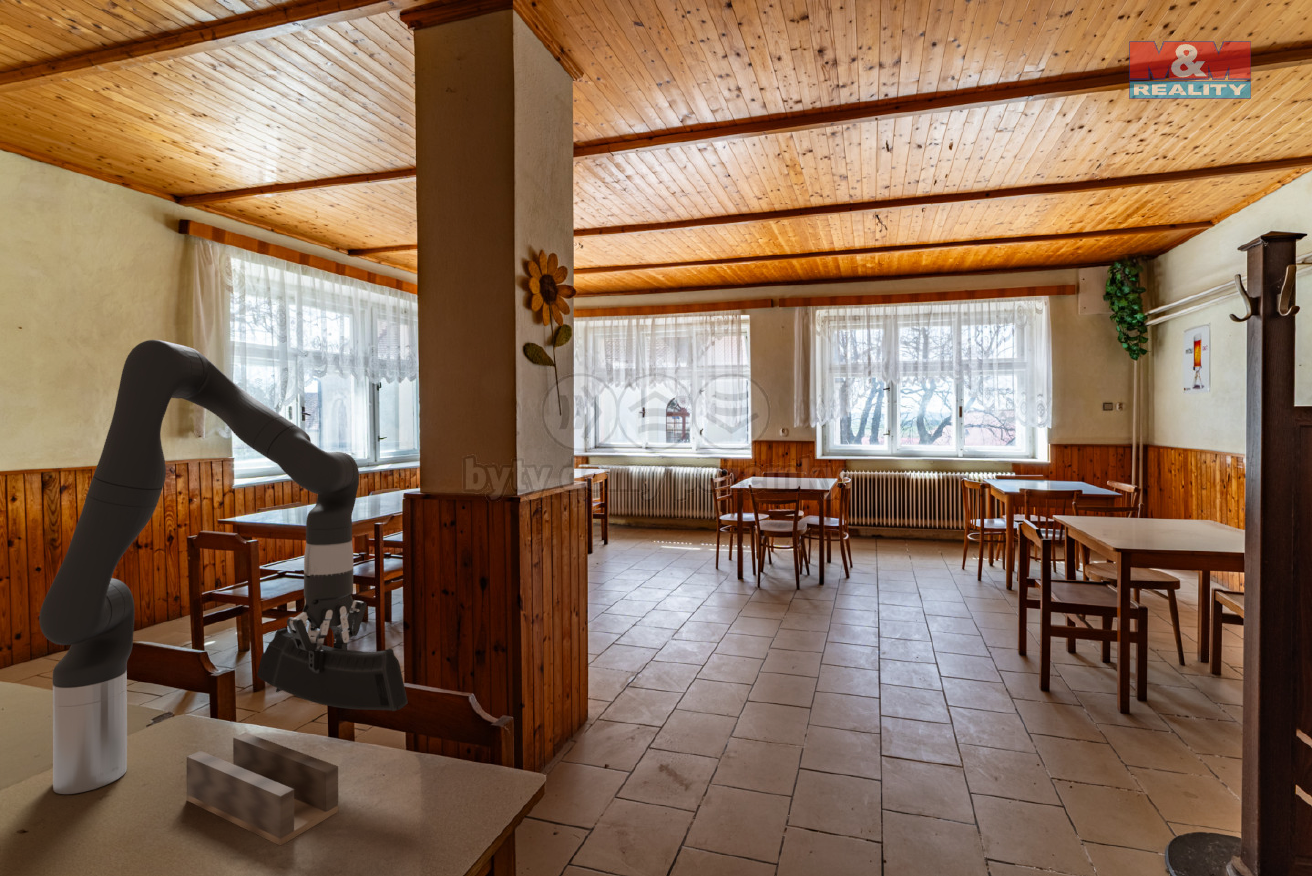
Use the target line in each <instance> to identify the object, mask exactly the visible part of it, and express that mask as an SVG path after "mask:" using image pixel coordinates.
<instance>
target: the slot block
mask: <svg viewBox="0 0 1312 876" xmlns="http://www.w3.org/2000/svg"><path fill="white" fill-rule="evenodd" d="M232 742H233V743H232V744H233V745H232V747H233V749H232V751H233V755H232V758H233V759H232V763H231V762H229V761H227V760H224V759H221V758H219V757H217V756H214V755H212V754H209V753H207V752H204V751H202V750H198V751H197V752H195V753H194V752H193V753H192V754H190V755H187V756H186V801H187V802H189V803H192V804H194V805H195V806H197V807H199V808H200V809H203V810H205V811H208V812H209V813H211V814H214V815H216V816H218V817H220V818H222V819H224V820H226V821H228V822H230V823H232V824H234V825H236V826H238V827H241V828H242V829H245V830H247V831H249V832H250V833H251V832H252V833H253V834H255V835H257V836H259V837H261V838H264V839H265V840H268V841H270V842H272V843H274V844H276V845H278V846H279V847H280V846H283V845H285V844H286V843H288V842H289V841H292V840H294V838H296V837H298V836H301V834H303V833H304V832H306V831H308V830H309V829H312V828H313V827H315V826H316V825H318V824H320V823H321V822H323V821H325V820H327V819H329V818H330V817H331V816H333V815H335V814H336V813H338V812H339V766H338V765H336V764H333V763H330V762H328V761H326V760H322V759H320V758H317V757H315V756H311V755H309V754H305V753H303V752H300V751H297V750H295V749H292V748H290V747H286V746H284V745H282V744H279V743H275V742H272V741H270V740H267V739H265V738H263V737H262V738H261V737H259V736H257V735H254V734H250V733H248V732H243V733H240V734H238V735H236V736H233V738H232Z"/></svg>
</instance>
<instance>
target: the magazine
mask: <svg viewBox="0 0 1312 876" xmlns="http://www.w3.org/2000/svg"><path fill="white" fill-rule="evenodd" d="M322 650H323V671H322V672H320V673H315V672H312V671H311V669H309V651H305V650H303V649H298V648H297V647H296V644H295V642H294V639H293V637H292V635H291V632H290V631H289V630H288V628H286V627H284V628H279V629H277V630H276V631H275V634H274V637H273V639H272V640H271V641H270V642H269V643H268V645H267V646H266V649H265V650H264V652H263V653H262V654H261V658H260V661H259V666H258V670H257V677H258V679H259V680H262V681H263V682H265V683H267V684H268V685H270V686H272V687H274V688H276V690H275V692H276V693H279V692H281V691H283V692H285V693H288V694H290V695H293V696H294V697H296V698H300V699H302V700H305V701H309V702H311V703H315V704H319V705H323V706H327V707H328V706H329V707H333V708H339V709H346V710H347V709H348V710H351V709H352V710H364V711H365V710H368V711H371V710H372V711H391V712H395V711H399V710H401V709H403V708H404V707H405V706H406V705H407V704H408V703H409V702H408V698H407V697H408V696H407V692H406V688H405V683H404V678H403V674H402V669H401V665H400V661H399V660H398V657H396V656H395V653H394V649H393V648H387V649H384V650H380V651H360V650H353V649H352V650H351V649H347V650H345V649H338V648H334V647H331V646H327V645H324V644H323V647H322Z"/></svg>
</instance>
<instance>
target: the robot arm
mask: <svg viewBox="0 0 1312 876" xmlns="http://www.w3.org/2000/svg"><path fill="white" fill-rule="evenodd" d="M122 368H123V369H122V373H121V374H120V375H121V376H120V380H119V381H120V382H119V386H118V391H117V397H116V401H115V404H114V405H115V406H114V411H113V413H112V414H113V415H112V420H111V421H110V422H111V423H110V426H109V429H108V432H107V435H106V438H105V440H104V441H105V442H104V444H103V447H102V452H101V454H100V457H99V460H98V462H97V465H96V468H95V470H94V472H93V475H92V479H91V482H90V484H89V487H88V490H87V493H86V496H85V498H84V499H85V500H84V503H83V506H82V510H81V513H80V515H79V518H78V521H77V524H76V526H75V529H74V531H73V535H72V538H71V540H70V544H69V547H68V549H67V552H66V554H65V556H64V558H63V561H62V563H61V565H60V567H59V569H58V571H57V573H56V575H55V577H54V580H53V581H52V583H51V585H50V587H49V590H48V591H47V594H46V595H45V597H44V600H43V601H42V605H41V608H40V611H39V617H38V619H39V628H40V630H41V633H42V634H43V636H44V637H45V638H46V639H47V640H48V641H50V642H51V643H53V644H54V645H55V644H56V645H60V646H70V647H69V649H68V651H67V652H66V654H65V655H64V656H63V657H62V658H61V659H60V660H59V661H58V662H57V663H56V665H55V666H54V667H53V670H52V789H53V792H54V793H56V794H60V795H73V794H79V793H84V792H89V791H92V790H96V789H99V788H102V787H104V786H107V785H108V784H111V783H113V782H115V781H117V780H119V779H120V778H121V777H122V776H124V775H125V774H126V772H127V770H128V767H127V766H128V681H127V680H128V679H127V676H128V675H127V673H128V672H127V671H128V670H127V669H128V668H127V665H128V664H127V663H128V660H129V658H130V655H131V653H132V650H133V645H134V630H135V627H134V626H135V601H134V596H133V593H132V591H131V589H130V588H129V586H128V585H127V584H126V583H125V582H123V581H122V580H120V579H117V578H113V575H114V572H115V570H116V567H117V566H118V563H119V562H120V560H121V558H122V557H123V555H124V554H125V553H126V551H127V550H128V549H129V547H131V545H132V544H133V542H134V541H135V540H136V539H137V537H139V535H140V534H141V533H142V532H143V530H144V529H145V527H146V526H147V524H148V523H149V522H150V520H151V519H152V517H153V515H154V513H155V510H156V508H157V506H158V503H159V500H160V497H161V494H162V491H163V488H164V485H165V482H166V475H167V466H166V460H165V454H164V450H163V446H162V439H161V431H162V425H163V420H164V417H165V414H166V412H167V409H168V406H169V403H170V401H171V399H183V400H186V401H188V402H190V403H193V404H195V405H196V406H199V407H201V408H203V409H206V410H207V411H209V412H211V413H212V414H214V415H215V416H217V417H218V418H219V419H221V421H223V423H225V424H226V426H228V427H229V429H230V430H231V431H232V432H233V433H234V435H235V436H236V437H238V439H240V440H241V441H242V443H244V444H245V445H247V446H248V447H250V448H251V449H253V450H254V451H255V452H257V453H259V454H260V455H261V456H263V457H265V458H267V459H268V460H270V461H271V462H273V463H275V464H277V465H278V466H279V468H281V470H282V471H283V472H284V473H285V474H286V475H287V476H288V477H289V478H290V479H291V480H293V481H294V483H296V484H297V485H298V486H300V487H301V488H302V489H305V490H307V491H308V492H310V493H313V494H316V495H317V497H316V503H315V506H314V507H313V508H312V509H311V510H309V512H308V513H307V517H306V524H305V550H304V557H303V596H304V600H305V604H304V606H303V609H302V612H300V613H299V614H298V615H297V616H295V617H292V616H291V617H288V618H287V620H286V624H287V627H288V629H289V630H288V631H289V633H291V635H292V637H293V639H294V642H295V644H296V647H297V648H298V649H303V650H305V651H309V669H311V671H312V672H315V673H320V672H322V671H323V650H322V647H323V645H324V642H325V638H326V637H327V635H328V633H329V632H328V631H329V629H331V631H332V635H333V639H334V642H333V648H338V649H345V650H348V643H349V641H350V639H351V638H352V637H353V638H354V637H356V636H358V635H359V631H360V628H361V625H362V622H363V619H364V615H365V612H366V609H367V606H368V604H367V602H366V601H362V600H355V599H353V596H352V594H353V592H354V548H353V519H352V518H353V517H352V516H353V513H354V507H355V504H356V501H357V495H358V491H359V482H360V470H359V467H358V464H357V461H356V460H355V458H354V457H352V456H351V455H350V454H348V453H346V452H343V451H331V452H330V451H329V452H328V451H325V450H323V449H321V448H319V447H318V446H317V445H315V444H314V443H312V442H311V437H310V435H309V434H308V432H306V431H305V430H304V429H302V428H301V427H300V426H297V425H296V424H295V423H293V422H291V421H290V420H288V419H287V418H286V417H284V416H282V415H280V414H279V413H278V412H276V411H275V410H273V409H271V408H270V407H268V406H267V405H265V404H263V403H262V402H260V401H259V400H258V399H256V398H254V397H253V396H252V395H250V394H249V393H248V392H246V391H245V390H244V389H242V388H241V387H239V385H237V384H236V383H235V382H234V381H233V380H231V379H230V377H228V376H227V375H226V374H225V373H223V372H222V371H221V370H220V369H219V367H217V366H216V365H215V364H214V362H212V361H211V360H209V359H208V358H207V357H206V356H205V355H203V353H201V352H200V351H198V350H197V349H195V348H192V347H189V346H186V345H183V344H179V343H178V344H177V343H173V342H171V341H165V340H161V339H149V340H144V341H142V342H140V343H138V344H137V345H135V346H134V347H133V348H132V349H131V351H130V352H129V353H128V355H127V356H126V360H125V361H124V364H123V367H122ZM347 615H348V616H347ZM307 621H308V622H309V624H307ZM306 627H308V629H307V628H306ZM318 629H319V630H318Z"/></svg>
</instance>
